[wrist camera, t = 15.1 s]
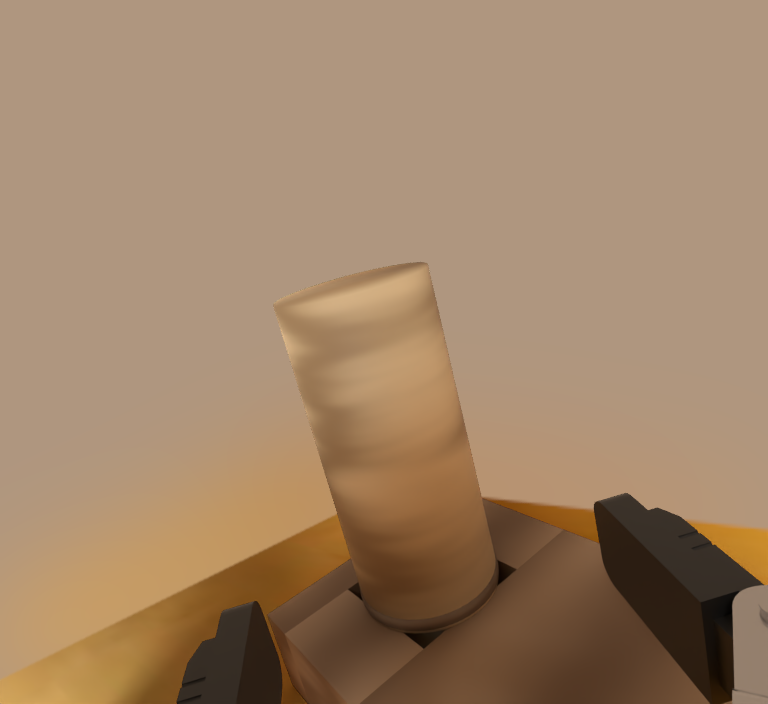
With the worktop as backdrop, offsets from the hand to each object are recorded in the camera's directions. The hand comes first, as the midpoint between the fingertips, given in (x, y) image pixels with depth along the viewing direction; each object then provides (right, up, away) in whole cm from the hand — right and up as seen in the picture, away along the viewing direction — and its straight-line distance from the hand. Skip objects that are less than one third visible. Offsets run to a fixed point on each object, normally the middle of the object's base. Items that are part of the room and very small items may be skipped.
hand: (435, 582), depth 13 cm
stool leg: (+2, -8, +12) cm, 15 cm away
